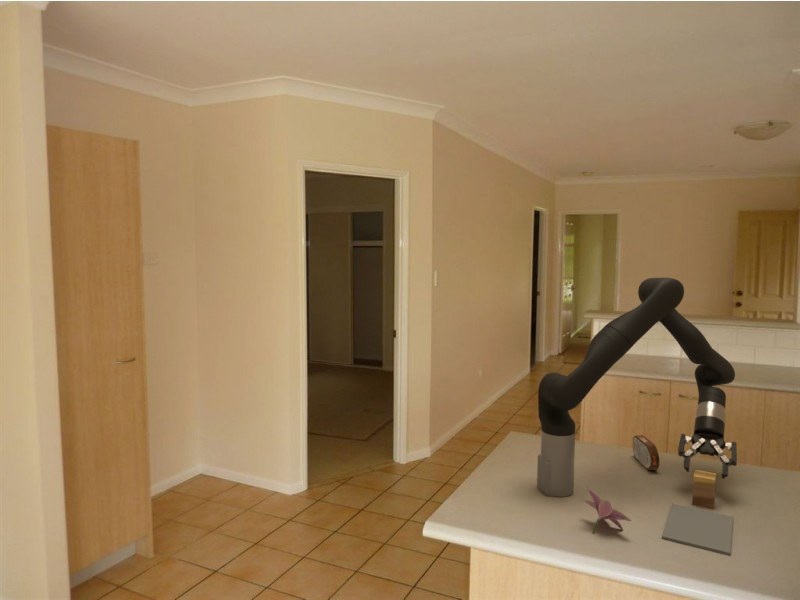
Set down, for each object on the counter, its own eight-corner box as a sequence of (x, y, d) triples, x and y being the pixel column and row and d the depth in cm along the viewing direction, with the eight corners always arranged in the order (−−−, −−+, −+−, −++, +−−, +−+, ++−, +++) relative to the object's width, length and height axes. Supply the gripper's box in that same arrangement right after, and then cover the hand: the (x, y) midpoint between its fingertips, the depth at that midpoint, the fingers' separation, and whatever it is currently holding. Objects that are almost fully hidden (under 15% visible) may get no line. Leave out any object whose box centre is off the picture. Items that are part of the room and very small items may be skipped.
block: (713, 509, 149) (715, 480, 148) (692, 504, 152) (693, 475, 151) (714, 502, 153) (716, 473, 152) (693, 497, 156) (695, 469, 155)
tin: (660, 474, 172) (661, 447, 171) (649, 474, 172) (650, 447, 171) (640, 456, 187) (641, 431, 186) (630, 456, 187) (631, 431, 186)
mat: (730, 555, 127) (730, 552, 127) (661, 538, 134) (661, 536, 134) (732, 518, 144) (733, 516, 144) (672, 505, 151) (672, 503, 151)
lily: (632, 549, 132) (643, 508, 134) (586, 530, 131) (598, 489, 133) (606, 539, 143) (616, 501, 146) (564, 522, 142) (575, 484, 145)
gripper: (681, 411, 163) (675, 462, 155) (739, 418, 156) (736, 473, 147) (682, 424, 168) (676, 474, 160) (738, 432, 161) (735, 485, 152)
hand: (705, 473), depth 154 cm, fingers open, 8 cm apart
